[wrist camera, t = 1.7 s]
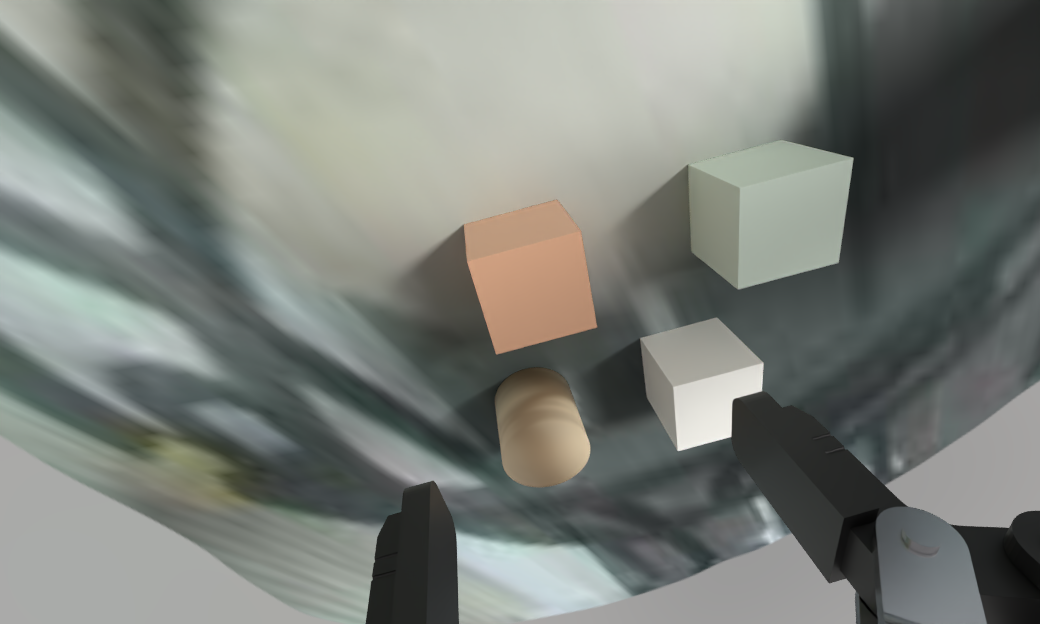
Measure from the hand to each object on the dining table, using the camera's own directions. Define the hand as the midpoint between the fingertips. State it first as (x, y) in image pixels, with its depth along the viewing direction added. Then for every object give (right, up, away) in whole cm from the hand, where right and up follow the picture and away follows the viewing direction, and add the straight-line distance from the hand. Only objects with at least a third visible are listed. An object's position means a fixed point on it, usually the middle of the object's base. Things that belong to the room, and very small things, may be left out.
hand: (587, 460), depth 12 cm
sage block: (+10, +10, +13) cm, 19 cm away
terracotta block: (-2, +7, +13) cm, 15 cm away
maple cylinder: (-1, -2, +18) cm, 18 cm away
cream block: (+9, +1, +18) cm, 20 cm away
